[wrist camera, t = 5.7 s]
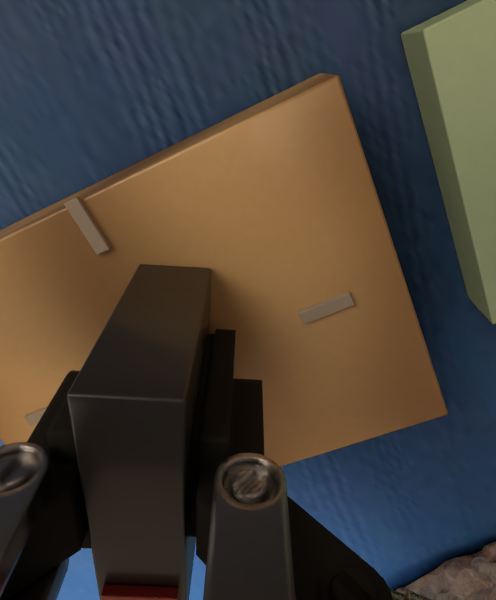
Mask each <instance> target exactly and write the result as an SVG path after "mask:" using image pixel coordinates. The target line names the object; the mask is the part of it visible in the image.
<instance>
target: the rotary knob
mask: <svg viewBox="0 0 496 600" xmlns="http://www.w3.org/2000/svg"><path fill="white" fill-rule="evenodd" d="M210 305H211V269H210V268H201V267H183V266H166V265H149V264H140V265H139V266H138V268H137V270H136V271H135V273H134V275H133V277H132V278H131V280H130V282H129V284H128V286H127V287H126V289H125V291H124V293H123V295H122V296H121V298H120V300H119V302H118V304H117V305H116V307H115V309H114V311H113V312H112V314H111V316H110V318H109V320H108V321H107V323H106V325H105V327H104V329H103V330H102V332H101V334H100V336H99V338H98V339H97V341H96V343H95V345H94V346H93V348H92V350H91V352H90V354H89V355H88V357H87V359H86V361H85V363H84V364H83V366H82V368H81V370H80V372H79V373H78V375H77V377H76V379H75V381H74V382H73V384H72V386H71V388H70V389H69V391H68V393H67V400H68V406H69V412H70V418H71V425H72V431H73V437H74V443H75V449H76V455H77V461H78V467H79V474H80V480H81V486H82V492H83V498H84V504H85V510H86V516H87V523H88V529H89V535H90V541H91V547H92V553H93V559H94V565H95V572H96V578H97V584H98V590H99V596H100V600H189V593H190V585H191V576H192V568H193V559H194V551H195V543H196V537H191V536H190V445H191V433H192V426H193V420H194V414H195V408H196V402H197V396H198V389H199V383H200V377H201V371H202V365H203V359H204V353H205V347H206V341H207V335H208V334H210Z"/></svg>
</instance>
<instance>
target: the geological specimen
mask: <svg viewBox="0 0 496 600" xmlns="http://www.w3.org/2000/svg"><path fill="white" fill-rule="evenodd" d="M407 589H408V590H410V591H413V592H415V593H417V594H420V595H422V596H425V597H427V598H429V599H432V600H496V542H493V543H490V544H488V545H486V546H484V548H483V549H482V551H480V552H478V553H475V554H473V555H467V556H462V557H456V558H453V559H451V560H448V561H445V562H444V563H442V564H441V565H440V566H439V567H438V568H437V569H435V570H434V571H432V572H430V573H428V574H426V575H424V576H422V577H421V578H419V579H418V580H416V581H414V582H413V583H411V584H409V585H408V586H406V587H404V588H398V589H396V591H398V592H400V593H403V594H405V593H406V590H407Z"/></svg>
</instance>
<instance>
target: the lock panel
mask: <svg viewBox="0 0 496 600" xmlns="http://www.w3.org/2000/svg"><path fill="white" fill-rule="evenodd" d="M140 264H149V265H166V266H183V267H201V268H210V269H211V305H210V334H215V330H216V329H229V330H236V335H235V355H234V375H233V378H236V379H256V380H262V389H263V423H264V456H266V457H268V458H270V459H272V460H273V461H274V462H275V463H277V464H278V465H279V467H281V466H284V465H287V464H290V463H294V462H297V461H300V460H303V459H306V458H310V457H313V456H316V455H319V454H323V453H326V452H329V451H332V450H335V449H339V448H342V447H345V446H348V445H351V444H355V443H358V442H361V441H364V440H368V439H371V438H374V437H377V436H380V435H384V434H387V433H390V432H393V431H396V430H400V429H403V428H406V427H409V426H413V425H416V424H419V423H422V422H425V421H429V420H432V419H435V418H438V417H441V416H445V415H447V414H448V411H447V408H446V405H445V402H444V399H443V396H442V392H441V389H440V386H439V383H438V380H437V377H436V374H435V371H434V368H433V365H432V362H431V358H430V355H429V352H428V349H427V346H426V343H425V340H424V337H423V334H422V331H421V328H420V324H419V321H418V318H417V315H416V312H415V309H414V306H413V303H412V300H411V297H410V294H409V290H408V287H407V284H406V281H405V278H404V275H403V272H402V269H401V266H400V263H399V259H398V256H397V253H396V250H395V247H394V244H393V241H392V238H391V235H390V232H389V229H388V225H387V222H386V219H385V216H384V213H383V210H382V207H381V204H380V201H379V198H378V195H377V191H376V188H375V185H374V182H373V179H372V176H371V173H370V170H369V167H368V164H367V161H366V157H365V154H364V151H363V148H362V145H361V142H360V139H359V136H358V133H357V130H356V127H355V123H354V120H353V117H352V114H351V111H350V108H349V105H348V102H347V99H346V96H345V93H344V89H343V86H342V83H341V80H340V78H339V76H338V75H332V74H326V73H319V74H317V75H315V76H313V77H311V78H309V79H307V80H305V81H303V82H301V83H299V84H297V85H295V86H293V87H290V88H288V89H286V90H284V91H282V92H280V93H278V94H276V95H274V96H272V97H270V98H268V99H266V100H264V101H262V102H260V103H258V104H256V105H254V106H252V107H250V108H248V109H246V110H244V111H242V112H240V113H238V114H235V115H233V116H231V117H229V118H227V119H225V120H223V121H221V122H219V123H217V124H215V125H213V126H211V127H209V128H207V129H205V130H203V131H201V132H199V133H197V134H195V135H193V136H191V137H189V138H187V139H185V140H183V141H181V142H178V143H176V144H174V145H172V146H170V147H168V148H166V149H164V150H162V151H160V152H158V153H156V154H154V155H152V156H150V157H148V158H146V159H144V160H142V161H140V162H138V163H136V164H134V165H132V166H130V167H128V168H126V169H124V170H121V171H119V172H117V173H115V174H113V175H111V176H109V177H107V178H105V179H103V180H101V181H99V182H97V183H95V184H93V185H91V186H89V187H87V188H85V189H83V190H81V191H79V192H77V193H75V194H73V195H71V196H69V197H66V198H64V199H62V200H60V201H58V202H56V203H54V204H52V205H50V206H48V207H46V208H44V209H42V210H40V211H38V212H36V213H34V214H32V215H30V216H28V217H26V218H24V219H22V220H20V221H18V222H16V223H14V224H12V225H9V226H7V227H5V228H3V229H1V230H0V439H1V440H2V441H3V442H4V443H5V445H7V444H11V443H16V442H27V441H28V439H29V437H30V436H31V434H32V432H33V431H34V429H35V427H36V426H37V424H38V422H39V420H40V419H41V417H42V415H43V414H44V412H45V410H46V409H47V407H48V405H49V404H50V402H51V400H52V399H53V397H54V395H55V393H56V392H57V390H58V388H59V387H60V385H61V383H62V382H63V380H64V378H65V377H66V375H67V374H68V373H69V372H70V371H72V370H75V371H80V370H81V368H82V366H83V364H84V363H85V361H86V359H87V357H88V355H89V354H90V352H91V350H92V348H93V346H94V345H95V343H96V341H97V339H98V338H99V336H100V334H101V332H102V330H103V329H104V327H105V325H106V323H107V321H108V320H109V318H110V316H111V314H112V312H113V311H114V309H115V307H116V305H117V304H118V302H119V300H120V298H121V296H122V295H123V293H124V291H125V289H126V287H127V286H128V284H129V282H130V280H131V278H132V277H133V275H134V273H135V271H136V270H137V268H138V266H139V265H140Z"/></svg>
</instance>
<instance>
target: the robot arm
mask: <svg viewBox="0 0 496 600" xmlns="http://www.w3.org/2000/svg"><path fill="white" fill-rule="evenodd" d="M235 335H236V330H229V329H216V330H215V334H208V335H207V341H206V347H205V353H204V359H203V365H202V371H201V377H200V383H199V389H198V396H197V402H196V408H195V414H194V420H193V426H192V433H191V445H190V536H191V537H196V555H197V556H198V557H199V558H200V559H201V560H202V561H203V563H204V564H205V565H206V574H205V585H204V596H203V600H432V599H429V598H427V597H425V596H422V595H420V594H417V593H415V592H413V591H410V590H408V589H407V590H406V593H405V594H403V593H400V592H398V591H396V590H393V589H391V588H389V587H388V586H387V584H386V582H385V580H384V579H383V578H382V577H381V576H380V575H379V574H378V573H377V571H376V570H375V569H374V568H372V567H371V566H370V565H369V564H368V563H366V562H365V561H364V560H363V559H362V558H361V557H359V556H358V555H357V554H356V553H355V552H353V551H352V550H351V549H350V548H349V547H347V546H346V545H345V544H344V543H343V542H342V541H340V540H339V539H338V538H337V537H336V536H334V535H333V534H332V533H331V532H330V531H328V530H327V529H326V528H325V527H324V526H323V525H321V524H320V523H319V522H318V521H317V520H315V519H314V518H313V517H312V516H311V515H309V514H308V513H307V512H306V511H305V510H304V509H302V508H301V507H300V506H299V505H298V504H296V503H295V502H294V501H293V500H292V499H290V498H289V497H288V496H287V488H286V480H285V476H284V473H283V471H282V470H281V468H280V467H279V465H278V464H277V463H275V462H274V461H273V460H272V459H270V458H268V457H266V456H264V423H263V389H262V380H256V379H236V378H233V375H234V355H235ZM79 372H80V371H75V370H72V371H70V372H69V373H68V374H67V375H66V377H65V378H64V380H63V382H62V383H61V385H60V387H59V388H58V390H57V392H56V393H55V395H54V397H53V399H52V400H51V402H50V404H49V405H48V407H47V409H46V410H45V412H44V414H43V415H42V417H41V419H40V420H39V422H38V424H37V426H36V427H35V429H34V431H33V432H32V434H31V436H30V437H29V439H28V441H27V442H16V443H11V444H7V445H3V446H1V447H0V600H56V599H57V596H58V594H59V591H60V588H61V585H62V583H63V580H64V577H65V574H66V572H67V569H68V564H69V557H70V556H72V555H73V554H75V553H76V552H78V551H79V550H81V548H92V547H91V541H90V535H89V529H88V523H87V516H86V510H85V504H84V498H83V492H82V486H81V480H80V474H79V467H78V461H77V455H76V449H75V443H74V437H73V431H72V425H71V418H70V412H69V406H68V400H67V393H68V391H69V389H70V388H71V386H72V384H73V382H74V381H75V379H76V377H77V375H78V373H79Z"/></svg>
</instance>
